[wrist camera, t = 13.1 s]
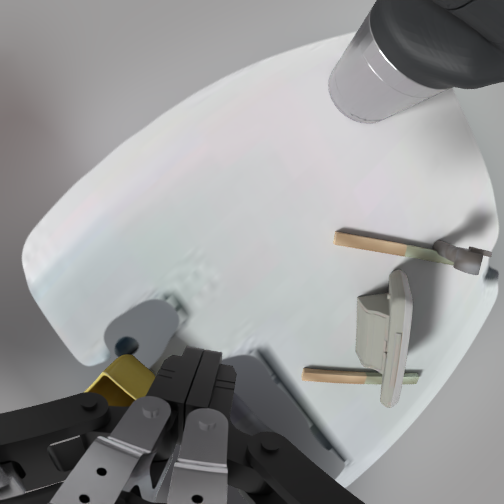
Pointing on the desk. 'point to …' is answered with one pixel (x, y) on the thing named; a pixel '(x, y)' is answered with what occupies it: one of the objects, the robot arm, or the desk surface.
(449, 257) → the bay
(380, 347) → the digital clock
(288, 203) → the desk surface
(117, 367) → the flower pot
